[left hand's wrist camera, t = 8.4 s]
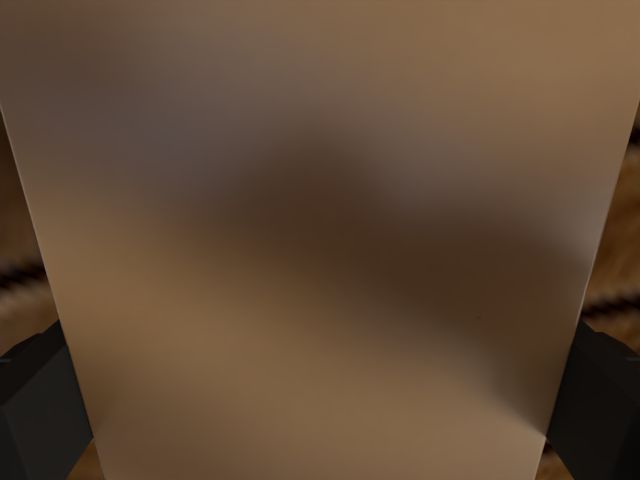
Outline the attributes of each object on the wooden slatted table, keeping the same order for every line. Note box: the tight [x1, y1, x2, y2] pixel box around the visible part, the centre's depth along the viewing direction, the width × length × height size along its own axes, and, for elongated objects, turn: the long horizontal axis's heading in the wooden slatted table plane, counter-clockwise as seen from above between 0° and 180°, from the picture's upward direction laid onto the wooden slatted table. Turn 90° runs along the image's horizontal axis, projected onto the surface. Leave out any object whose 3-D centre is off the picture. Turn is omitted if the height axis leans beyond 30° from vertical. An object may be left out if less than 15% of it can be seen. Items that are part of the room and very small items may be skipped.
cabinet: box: [0, 0, 640, 480], centre depth 12 cm, size 18×11×10 cm, turn 0°
